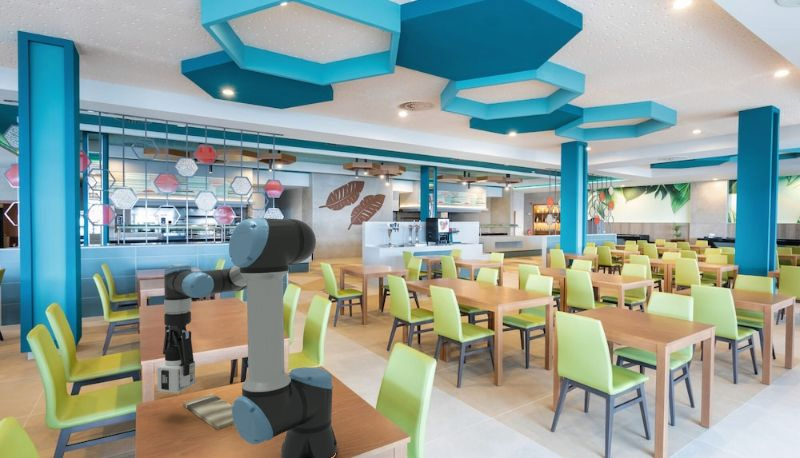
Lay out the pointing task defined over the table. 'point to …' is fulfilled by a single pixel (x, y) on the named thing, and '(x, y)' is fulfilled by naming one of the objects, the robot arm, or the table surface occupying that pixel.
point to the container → (172, 372)
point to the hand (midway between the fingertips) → (177, 381)
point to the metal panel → (211, 410)
